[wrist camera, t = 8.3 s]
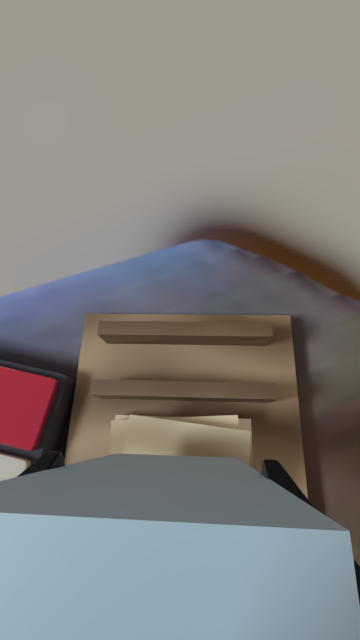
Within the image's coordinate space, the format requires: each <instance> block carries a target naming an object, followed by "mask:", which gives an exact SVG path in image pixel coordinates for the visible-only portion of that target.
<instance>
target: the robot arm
mask: <svg viewBox="0 0 360 640" xmlns="http://www.w3.org/2000/svg"><path fill="white" fill-rule="evenodd" d="M62 466H65V463H64V459H63V455H62V453H61V452H59V451H48V452H46V453H44V454H43V455H42V456H41V457H40V458H38V459H37V460H36V461H35V462H34V463H33V464H31V465H30V466H29V467H28V468H27V469H25V470H24V471H23V472H22V473H21V474H20V475H18V476H17V477H19V476H23V475H27V474H31V473H36V472H40V471H44V470H49V469H53V468H58V467H62ZM261 474H262V475H263V476H265V477H266V478H268V479H270V480H272V481H273V482H275V483H276V484H278V485H279V486H281V487H282V488H284V489H286V490H287V491H289V492H290V493H292V494H293V495H295V496H296V497H298V498H299V499H301V500H302V501H304V502H306V503H307V504H309V505H310V506H312V507H313V505H312V504H311V503H310V502H309V500H308V499H307V498H306V496H305V495H304V494H303V492H302V491H301V490H300V489H299V487H298V486H297V485H296V483H295V482H294V481H293V479H292V478H291V477H290V476H289V474H288V473H287V472H286V470H285V469H284V468H283V466H282V465H281V464H280V463H279V461H277V460H274V459H264V460H263V462H262V469H261ZM313 508H314V507H313ZM353 560H354V559H353ZM354 567H355V575H356V582H357V590H358V597H359V604H360V566H359V565H358V564H357V563H356V561H355V560H354Z"/></svg>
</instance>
